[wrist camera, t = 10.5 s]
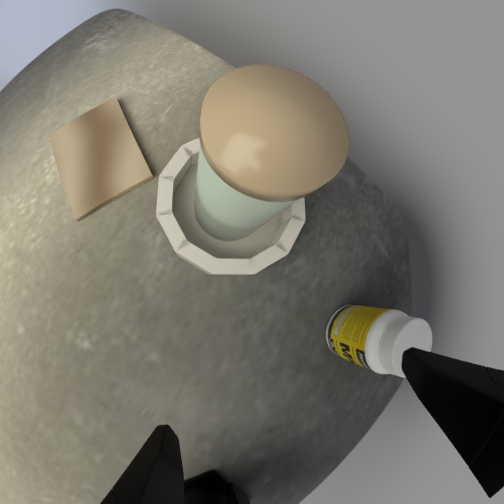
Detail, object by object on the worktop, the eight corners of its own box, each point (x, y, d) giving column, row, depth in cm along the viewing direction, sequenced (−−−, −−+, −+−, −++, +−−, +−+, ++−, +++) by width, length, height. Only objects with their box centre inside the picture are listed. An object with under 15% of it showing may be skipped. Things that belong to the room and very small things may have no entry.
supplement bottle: (314, 341, 22) (375, 367, 14) (342, 293, 23) (410, 297, 15) (351, 365, 22) (414, 392, 14) (376, 320, 23) (444, 331, 15)
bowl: (202, 300, 20) (204, 303, 17) (140, 183, 20) (133, 169, 17) (311, 235, 23) (328, 229, 20) (250, 132, 22) (259, 114, 20)
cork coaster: (78, 221, 19) (75, 219, 18) (51, 138, 18) (49, 135, 18) (153, 177, 20) (152, 175, 20) (117, 100, 20) (116, 97, 19)
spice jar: (198, 248, 20) (212, 201, 8) (188, 177, 20) (194, 65, 8) (269, 237, 21) (365, 187, 9) (257, 170, 21) (326, 70, 9)
